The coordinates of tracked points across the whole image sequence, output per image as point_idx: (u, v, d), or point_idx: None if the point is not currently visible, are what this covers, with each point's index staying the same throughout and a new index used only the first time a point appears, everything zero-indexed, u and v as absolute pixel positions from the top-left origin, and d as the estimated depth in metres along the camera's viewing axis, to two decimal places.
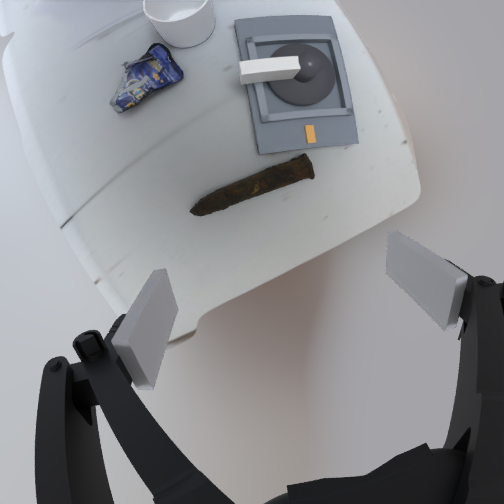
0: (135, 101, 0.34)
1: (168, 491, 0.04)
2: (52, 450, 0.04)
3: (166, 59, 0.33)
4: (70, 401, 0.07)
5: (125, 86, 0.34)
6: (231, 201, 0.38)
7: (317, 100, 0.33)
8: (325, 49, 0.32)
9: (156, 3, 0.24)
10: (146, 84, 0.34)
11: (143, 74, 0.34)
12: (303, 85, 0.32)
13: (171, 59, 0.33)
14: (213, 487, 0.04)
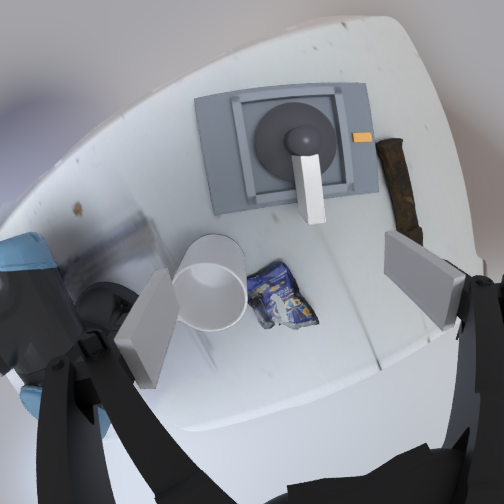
0: (302, 306, 0.41)
1: (170, 490, 0.04)
2: (53, 448, 0.04)
3: (256, 280, 0.40)
4: (72, 400, 0.07)
5: (279, 316, 0.43)
6: (416, 224, 0.35)
7: (331, 127, 0.29)
8: (251, 107, 0.30)
9: (197, 309, 0.34)
10: (281, 296, 0.42)
11: (269, 300, 0.42)
12: None
13: None
14: (215, 486, 0.04)
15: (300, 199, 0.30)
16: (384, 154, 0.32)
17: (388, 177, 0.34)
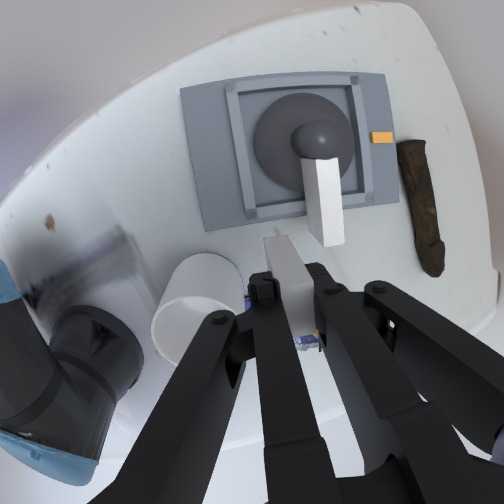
0: None
1: (283, 446, 0.04)
2: (178, 408, 0.06)
3: None
4: (223, 361, 0.08)
5: None
6: (438, 238, 0.29)
7: (348, 124, 0.23)
8: (250, 99, 0.24)
9: (187, 343, 0.28)
10: None
11: None
12: None
13: None
14: (327, 457, 0.04)
15: (312, 213, 0.24)
16: (405, 158, 0.27)
17: (409, 185, 0.28)
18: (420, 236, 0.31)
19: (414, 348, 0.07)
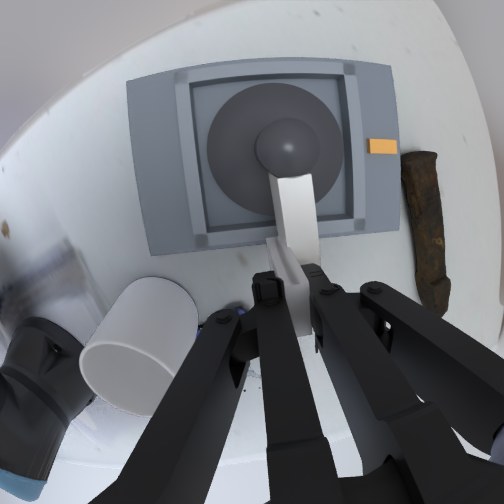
0: None
1: (286, 445, 0.04)
2: (182, 407, 0.06)
3: None
4: (227, 361, 0.08)
5: None
6: (444, 274, 0.24)
7: (334, 123, 0.17)
8: (208, 92, 0.18)
9: (129, 378, 0.22)
10: None
11: None
12: None
13: None
14: (330, 456, 0.04)
15: None
16: (410, 175, 0.21)
17: (413, 209, 0.23)
18: (422, 271, 0.25)
19: (411, 349, 0.07)
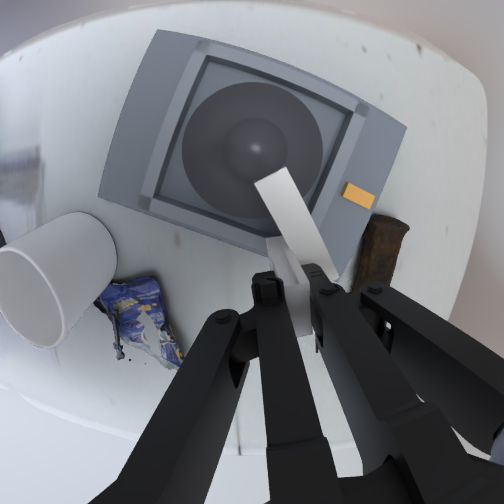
0: (176, 345, 0.27)
1: (285, 446, 0.04)
2: (182, 407, 0.06)
3: (121, 289, 0.26)
4: (226, 361, 0.08)
5: None
6: None
7: (299, 103, 0.17)
8: (220, 71, 0.17)
9: (29, 299, 0.19)
10: None
11: (137, 321, 0.28)
12: None
13: None
14: (329, 456, 0.04)
15: None
16: (372, 236, 0.22)
17: (361, 269, 0.24)
18: None
19: (411, 349, 0.07)
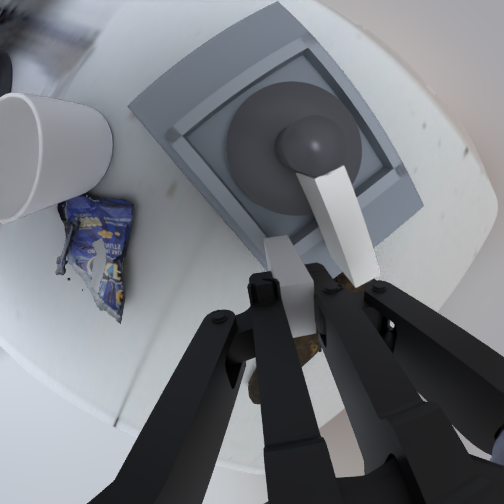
0: (119, 286, 0.24)
1: (283, 446, 0.04)
2: (178, 408, 0.06)
3: (91, 204, 0.22)
4: (223, 361, 0.08)
5: None
6: None
7: (343, 108, 0.17)
8: (306, 69, 0.18)
9: (2, 165, 0.14)
10: (107, 252, 0.24)
11: (91, 245, 0.24)
12: None
13: (96, 199, 0.22)
14: (327, 457, 0.04)
15: (330, 242, 0.18)
16: (346, 280, 0.24)
17: None
18: None
19: (414, 348, 0.07)
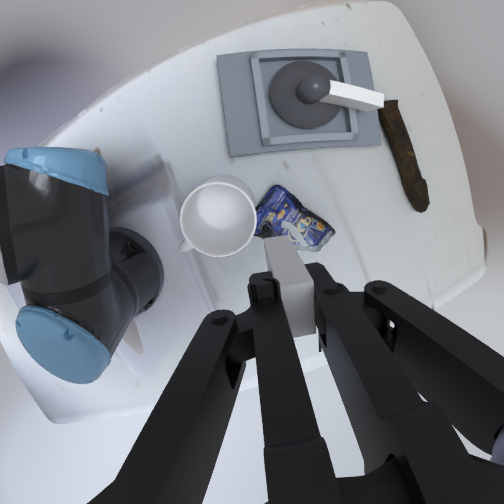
0: (314, 223, 0.40)
1: (283, 446, 0.04)
2: (179, 408, 0.06)
3: (260, 212, 0.40)
4: (223, 361, 0.08)
5: (297, 242, 0.43)
6: (420, 176, 0.36)
7: (299, 62, 0.29)
8: (267, 65, 0.31)
9: (205, 240, 0.35)
10: (291, 220, 0.42)
11: (281, 229, 0.42)
12: None
13: (259, 206, 0.40)
14: (327, 457, 0.04)
15: (358, 106, 0.30)
16: (383, 114, 0.34)
17: (389, 135, 0.35)
18: (404, 176, 0.38)
19: (414, 348, 0.07)
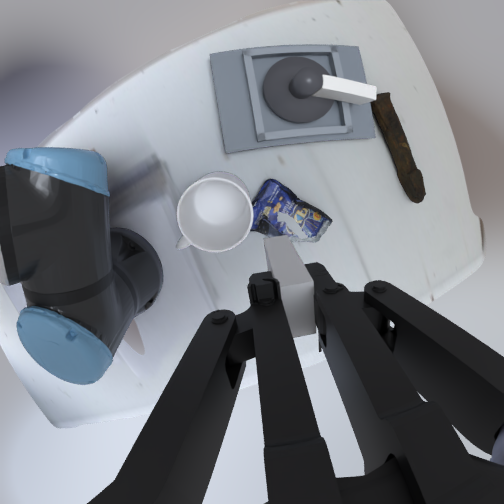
0: (311, 213, 0.40)
1: (283, 446, 0.04)
2: (178, 408, 0.06)
3: (256, 207, 0.41)
4: (223, 361, 0.08)
5: None
6: (415, 167, 0.36)
7: (291, 58, 0.30)
8: (259, 62, 0.31)
9: (203, 237, 0.35)
10: (288, 213, 0.42)
11: (278, 222, 0.42)
12: None
13: (254, 202, 0.40)
14: (327, 457, 0.04)
15: (351, 99, 0.30)
16: (375, 107, 0.34)
17: (382, 127, 0.36)
18: (400, 168, 0.38)
19: (414, 348, 0.07)
